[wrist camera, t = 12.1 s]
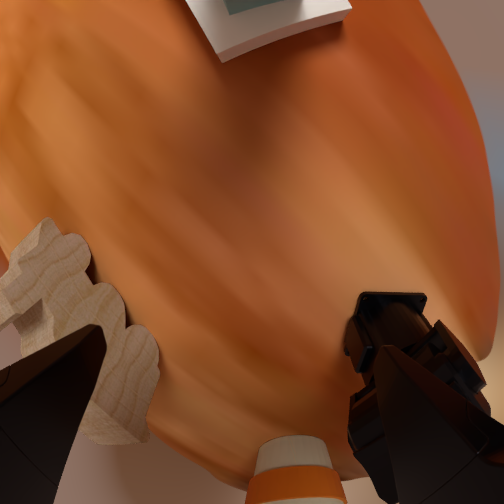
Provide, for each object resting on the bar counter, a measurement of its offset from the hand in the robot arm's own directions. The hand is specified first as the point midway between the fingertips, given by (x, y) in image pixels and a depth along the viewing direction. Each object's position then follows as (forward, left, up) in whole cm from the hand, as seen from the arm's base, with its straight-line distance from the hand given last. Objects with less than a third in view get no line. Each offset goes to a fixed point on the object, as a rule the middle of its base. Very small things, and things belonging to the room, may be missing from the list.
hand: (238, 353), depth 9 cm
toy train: (+13, +8, -13) cm, 20 cm away
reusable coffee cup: (-7, +30, -13) cm, 34 cm away
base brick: (+1, -17, -14) cm, 22 cm away
